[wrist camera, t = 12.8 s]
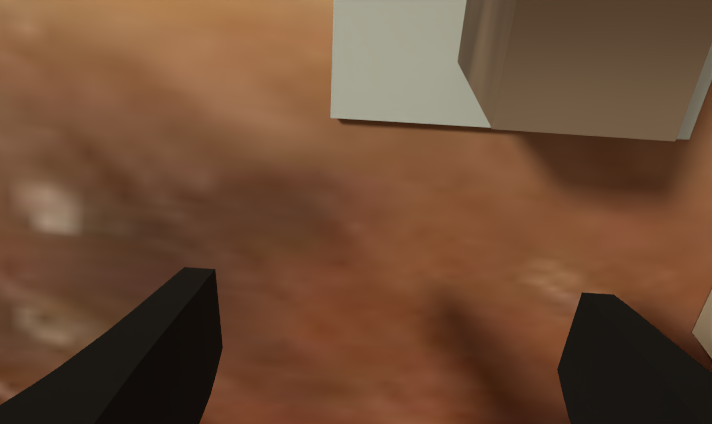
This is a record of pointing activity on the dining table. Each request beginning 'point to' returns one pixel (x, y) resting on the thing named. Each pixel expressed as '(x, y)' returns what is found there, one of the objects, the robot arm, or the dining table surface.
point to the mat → (418, 65)
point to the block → (586, 64)
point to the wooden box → (705, 326)
